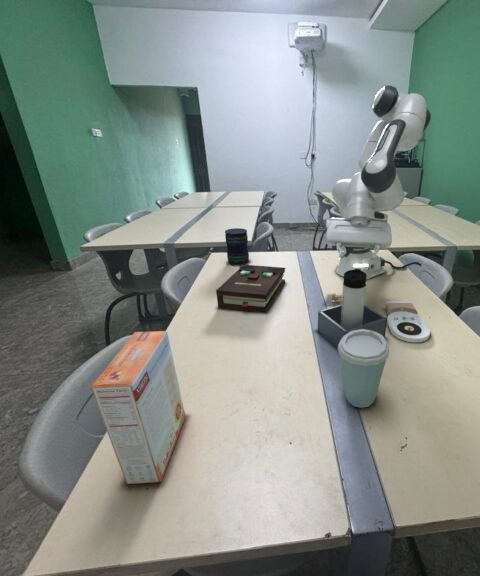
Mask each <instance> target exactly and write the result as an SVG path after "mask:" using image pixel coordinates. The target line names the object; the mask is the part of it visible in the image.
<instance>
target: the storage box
mask: <svg viewBox="0 0 480 576" xmlns="http://www.w3.org/2000/svg"><path fill="white" fill-rule="evenodd" d="M341 310H342V304H341V305H338V306H330V307H327V308H325V309H321V310H318V312H317V332H318V334H320V335H321V336H322V337H323V338H324V339H326V340H327V341H328V342H329V343H331V344H332V345H333V346H334V347H335V348H336V350H337V349H338V345H339V343H340V340H341V339H342V338H343V336H344V335H346V334H347V333H349V332H351V331H354V330H359V329H366V330H371V331H375V332H377V333H379V334H381V335H382V336H383V337H384V339H385V340H386V331H387V326H388V323H387V318H388V317H386V316H384V315H382V313H381V314H380V313H379V312H377V311H375V310H374V309H373V308H371V307H370V306H368V305H366V304H364V311H363V321H362V326H359V327H356V328H353V329H350V330H345V329H344V328H343V327H341Z"/></svg>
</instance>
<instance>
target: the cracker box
mask: <svg viewBox="0 0 480 576" xmlns="http://www.w3.org/2000/svg"><path fill="white" fill-rule="evenodd" d="M90 390H91V393H92V396H93V398H94V400H95V403H96V407H97V409H98V411H99V414H100V417H101V419H102V421H103V424H104V425H103V426H104V427H105V430H106V432H107V436H108V438H109V441H110V443H111V446H112V449H113V452H114V454H115V456H116V459H117V462H118V464H119V468H120V470H121V471H120V472H122V476H123V478H124V481H125V483H126V485H137V484H139V485H141V484H152V483H161V482H162V481H163V479H164V476H165V474H166V470H167V469H168V465H169V463H170V460H171V457H172V454H173V452H174V449H175V446H176V444H177V441H178V438H179V436H180V433H181V431H182V427H183V425H184V422H185V421H186V420H185V419H186V418H187V417H186V411H185V408H184V402H183V398H182V394H181V389H180V384H179V379H178V375H177V371H176V365H175V362H174V356H173V352H172V347H171V343H170V339H169V334H168V331H167V330H158V331H157V330H156V331H135V332H133V334H132V335H131V336H130V338H129V339H128V340H127V341H126V343H125V344H124V345H123V346H122V348H121V349H120V350H119V351H118V352H117V354H116V355H115V356H114V357H113V358H112V360H111V361H110V363H108V365H107V366H106V368H104V370H103V371H102V373H100V375H99V376H98V377H97V378H96V380H94V382H92V384H91V385H90Z"/></svg>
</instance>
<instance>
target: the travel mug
mask: <svg viewBox="0 0 480 576" xmlns="http://www.w3.org/2000/svg"><path fill="white" fill-rule="evenodd" d="M366 277H367V275H366V273H365V272H363V271H361V269H355V270H349V271H346V272H345V273H344V277H343V281H342V282H343V283H342V294H341V295H342V310H341V327H343V328H344V329H345V330H350V329H353V328H356V327H359V326H362V321H363V311H364V305H365V298H366V288H367V280H366Z"/></svg>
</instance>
